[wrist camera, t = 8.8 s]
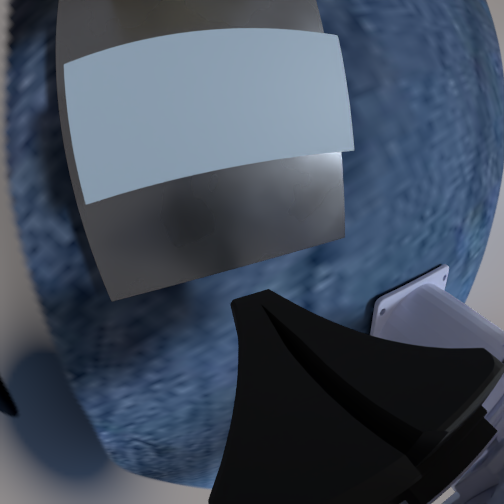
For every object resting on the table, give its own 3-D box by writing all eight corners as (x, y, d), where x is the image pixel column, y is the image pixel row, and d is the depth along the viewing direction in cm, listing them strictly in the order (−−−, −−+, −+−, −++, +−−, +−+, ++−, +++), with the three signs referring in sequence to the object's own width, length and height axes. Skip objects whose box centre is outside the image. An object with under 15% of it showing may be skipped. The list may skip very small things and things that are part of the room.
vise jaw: (321, 147, 10) (354, 150, 8) (101, 192, 8) (86, 204, 6) (307, 49, 8) (337, 35, 6) (82, 79, 6) (63, 64, 4)
